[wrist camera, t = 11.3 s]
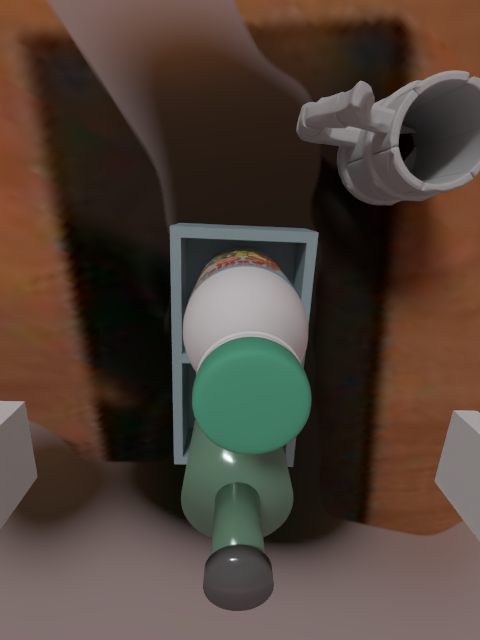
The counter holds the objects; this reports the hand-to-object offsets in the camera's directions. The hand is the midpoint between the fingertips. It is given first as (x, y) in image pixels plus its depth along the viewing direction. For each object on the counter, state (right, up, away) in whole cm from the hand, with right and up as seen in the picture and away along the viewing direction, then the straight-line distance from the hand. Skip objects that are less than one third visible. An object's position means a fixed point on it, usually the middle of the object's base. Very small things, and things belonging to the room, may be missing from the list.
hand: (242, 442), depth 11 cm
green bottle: (0, -3, +24) cm, 24 cm away
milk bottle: (0, +7, +21) cm, 22 cm away
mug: (+10, +18, +18) cm, 27 cm away
